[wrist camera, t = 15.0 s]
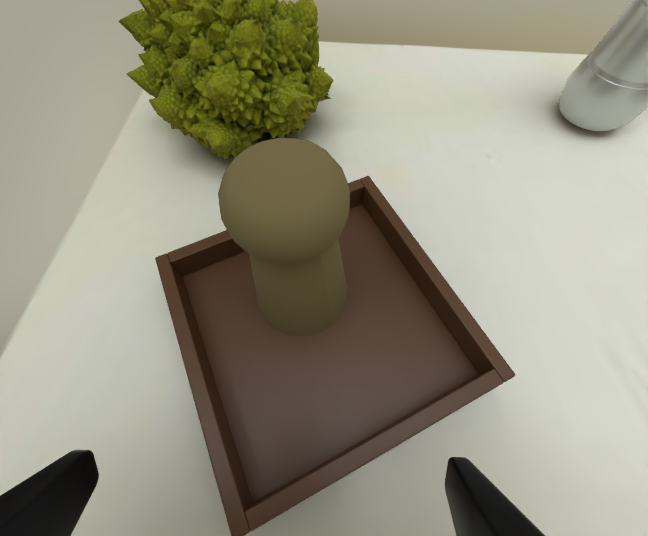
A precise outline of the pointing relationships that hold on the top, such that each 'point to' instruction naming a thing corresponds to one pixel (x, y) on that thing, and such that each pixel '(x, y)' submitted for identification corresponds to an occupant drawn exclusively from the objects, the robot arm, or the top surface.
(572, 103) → the plastic bottle
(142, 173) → the top surface
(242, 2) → the vegetable
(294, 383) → the tray
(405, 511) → the top surface
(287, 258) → the cork
